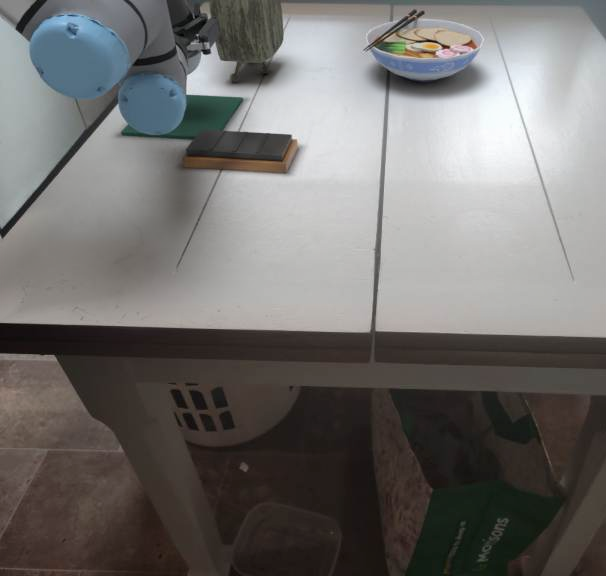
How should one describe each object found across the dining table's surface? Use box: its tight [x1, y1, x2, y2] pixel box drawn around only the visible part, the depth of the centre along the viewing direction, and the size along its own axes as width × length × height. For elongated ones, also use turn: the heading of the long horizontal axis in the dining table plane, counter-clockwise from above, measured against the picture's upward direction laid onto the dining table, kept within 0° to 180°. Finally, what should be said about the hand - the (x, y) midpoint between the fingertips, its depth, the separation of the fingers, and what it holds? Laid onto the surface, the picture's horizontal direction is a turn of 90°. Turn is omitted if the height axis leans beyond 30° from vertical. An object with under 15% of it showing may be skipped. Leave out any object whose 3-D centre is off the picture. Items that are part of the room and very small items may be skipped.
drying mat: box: [120, 94, 244, 140], centre depth 106 cm, size 16×16×1 cm
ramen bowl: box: [362, 9, 485, 83], centre depth 119 cm, size 25×23×8 cm
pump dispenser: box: [166, 0, 202, 76], centre depth 96 cm, size 10×10×15 cm
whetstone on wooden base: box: [181, 130, 299, 174], centre depth 95 cm, size 16×8×3 cm, turn 84°
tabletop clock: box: [208, 0, 285, 83], centre depth 114 cm, size 14×9×25 cm, turn 171°
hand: (166, 14), depth 99 cm, fingers closed on pump dispenser, 9 cm apart
